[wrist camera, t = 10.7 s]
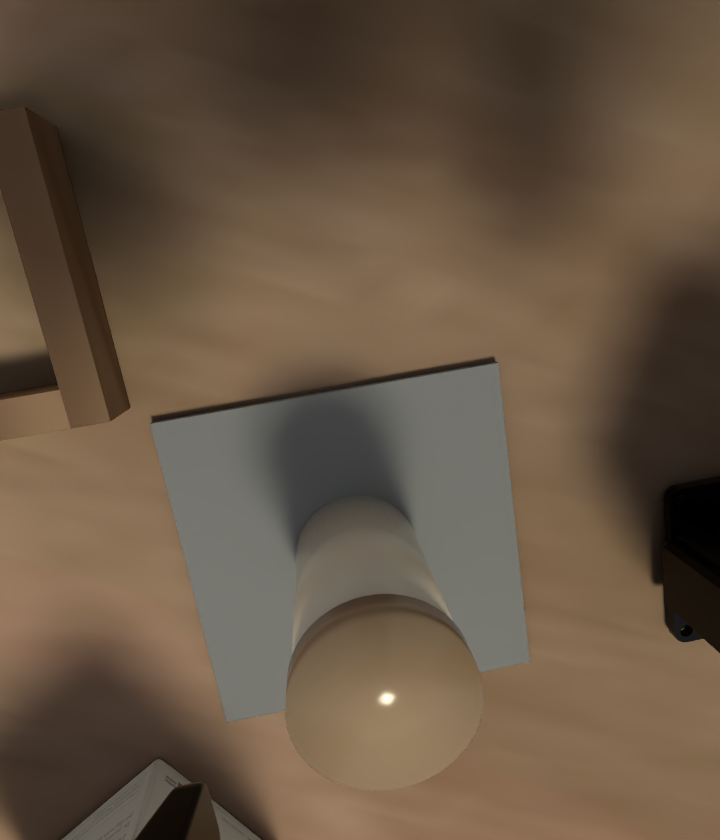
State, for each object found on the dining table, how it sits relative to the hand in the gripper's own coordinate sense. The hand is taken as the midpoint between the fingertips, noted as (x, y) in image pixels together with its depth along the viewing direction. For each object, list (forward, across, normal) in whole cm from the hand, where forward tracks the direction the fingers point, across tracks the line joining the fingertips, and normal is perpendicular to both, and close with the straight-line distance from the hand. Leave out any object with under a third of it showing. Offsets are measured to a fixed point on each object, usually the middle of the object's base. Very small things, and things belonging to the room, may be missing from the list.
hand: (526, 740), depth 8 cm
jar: (+13, +2, +3) cm, 13 cm away
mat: (+13, +2, +3) cm, 13 cm away
